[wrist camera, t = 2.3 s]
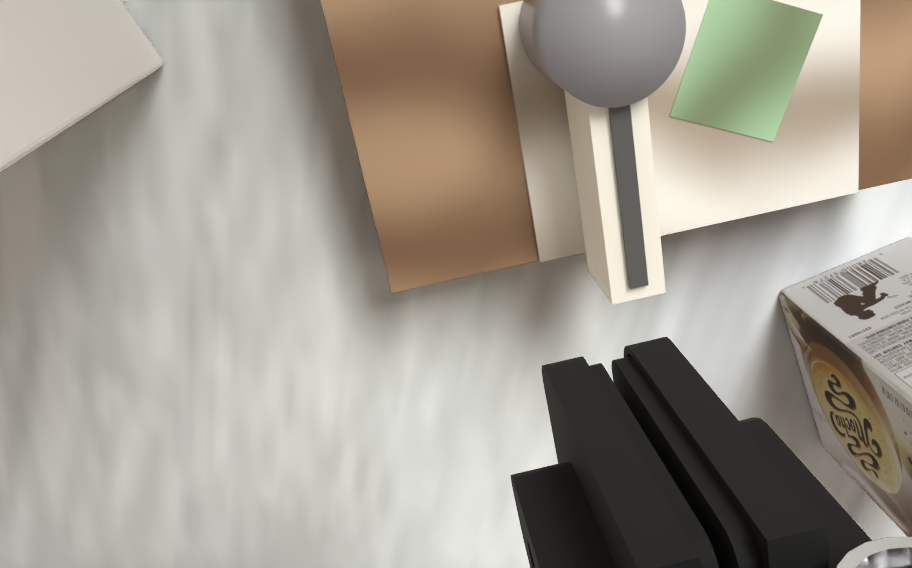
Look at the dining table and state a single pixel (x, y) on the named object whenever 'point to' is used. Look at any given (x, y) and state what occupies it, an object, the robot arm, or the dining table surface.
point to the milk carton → (63, 66)
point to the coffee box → (861, 369)
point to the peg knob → (611, 123)
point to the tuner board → (670, 112)
